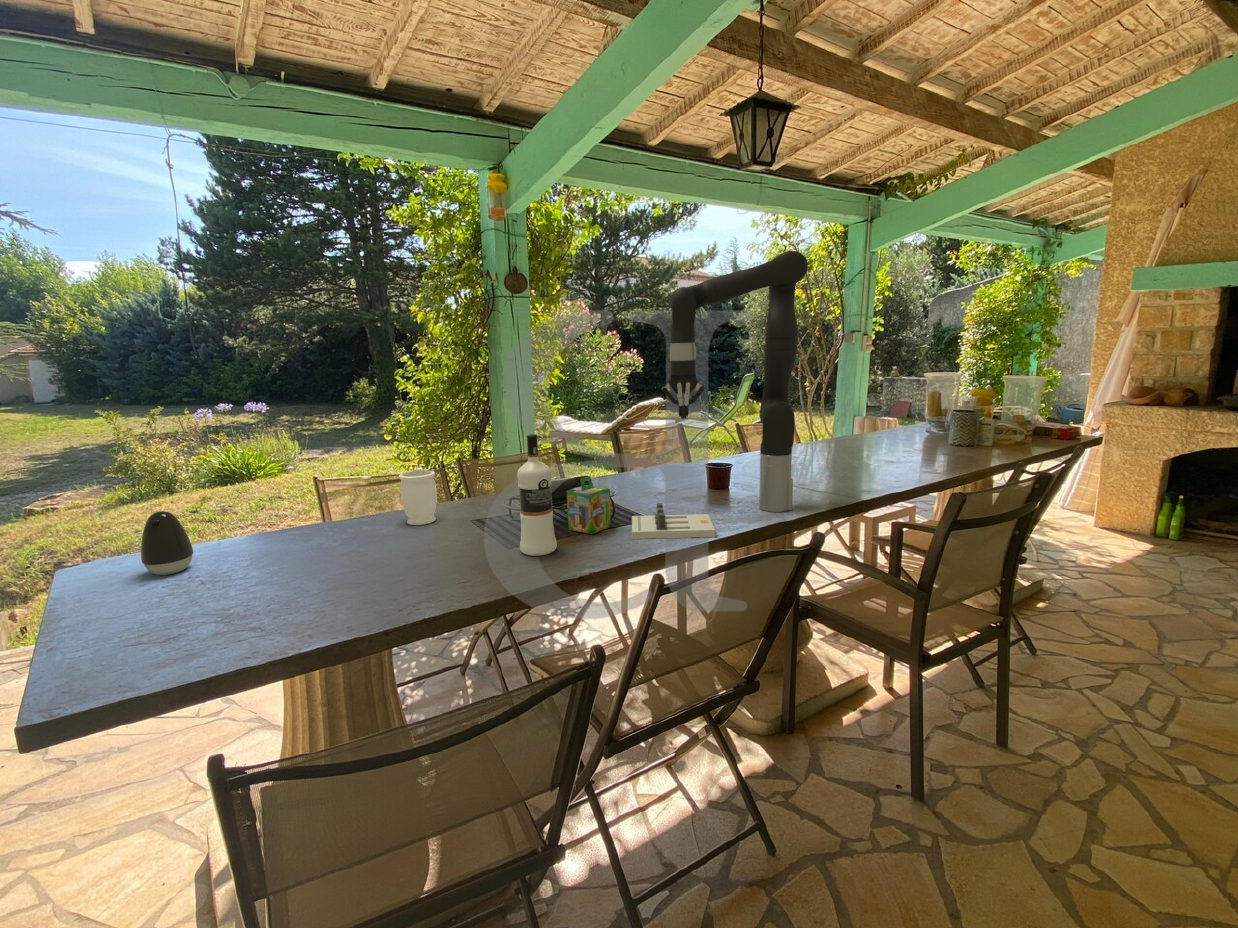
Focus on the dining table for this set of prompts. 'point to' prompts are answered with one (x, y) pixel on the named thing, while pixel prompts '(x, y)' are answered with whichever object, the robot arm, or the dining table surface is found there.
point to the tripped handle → (659, 510)
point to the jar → (418, 496)
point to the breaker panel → (673, 527)
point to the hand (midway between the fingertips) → (683, 418)
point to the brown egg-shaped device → (165, 544)
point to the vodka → (535, 504)
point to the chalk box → (588, 508)
